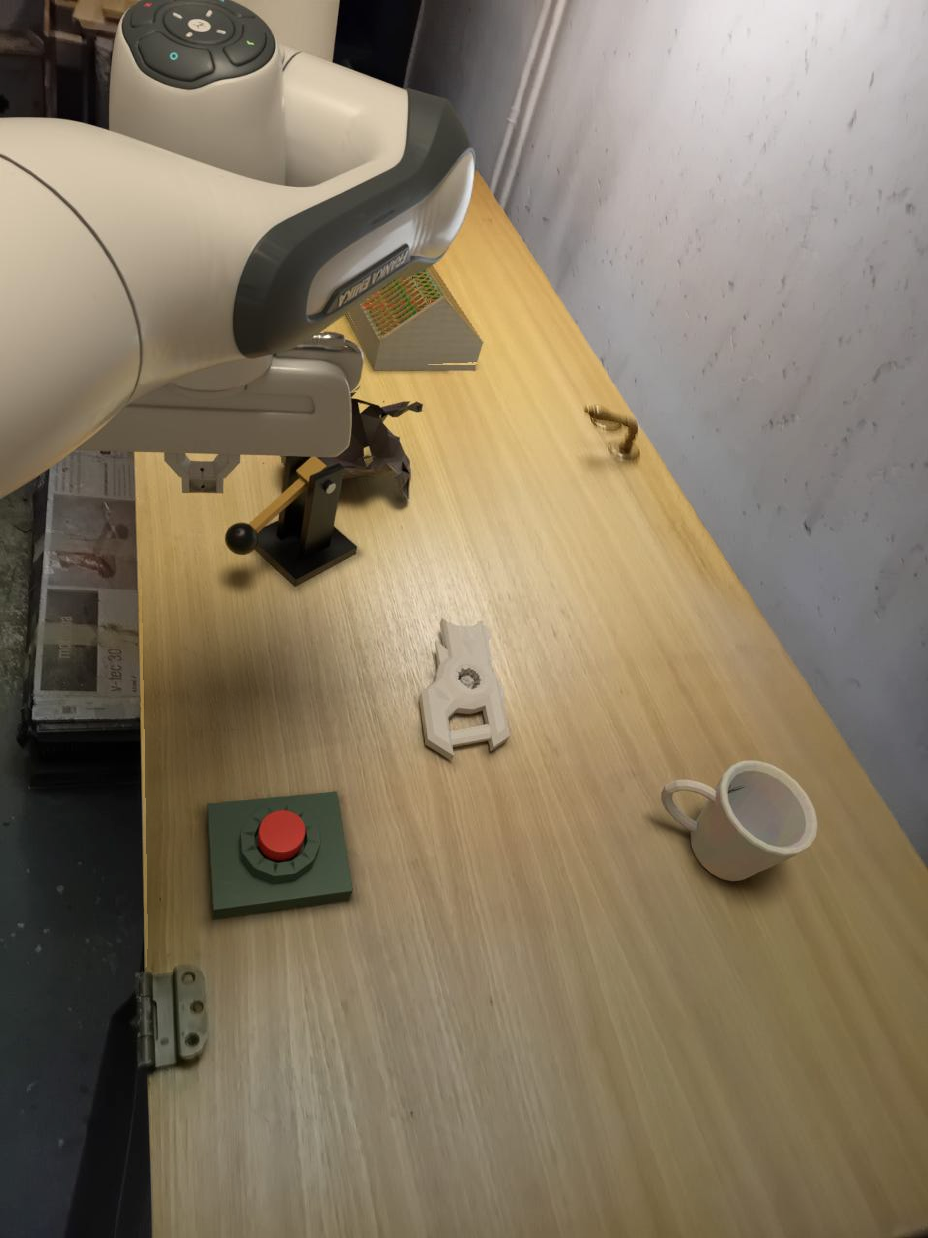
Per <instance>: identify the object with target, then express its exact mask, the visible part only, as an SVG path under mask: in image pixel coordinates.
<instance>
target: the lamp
mask: <svg viewBox="0 0 928 1238" xmlns="http://www.w3.org/2000/svg"><path fill="white" fill-rule="evenodd" d="M231 1H234V2H236V3H238V4H240V5H242V6H244V7H246V8H248V9H249V10H251V11H252V12H254V13H255V14H256V15H258V16H259V17H260V18H261V19H262V20H263V21H264V22H265V23H266V24H267V25H268V26H269V27H270V29H271V30H272V32H273V33H274V35H275V37H276V39H277V42H278V43H280V44H282V45H285V46H287V47H290V48H293V49H295V50H298V51H301V52H305V53H308V54H311V55H313V56H316V57H319V58H322V59H324V60H327V61H330V62H332V63H333V60H334V53H335V43H336V35H337V26H338V18H339V17H338V16H339V9H340V0H231Z"/></svg>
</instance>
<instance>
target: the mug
mask: <svg viewBox="0 0 928 1238" xmlns="http://www.w3.org/2000/svg"><path fill="white" fill-rule="evenodd" d="M682 791H683V792H684V791H685V792H686V791H687V792H692V793H696V794H698V795H700V796H703V797H704V798H706V799H707V801H706V802H705V804H704V806H703V807H702V808H701V811H700V812H699V814H698V816H697V817H696V820H694V819H692V818H691V817H690V816H688V815H687V814H685V813H684V812H683V811H682V810H681V809H679V807H678V806H677V805H676V803H674V800H673V794H675V793H678V792H682ZM660 797H661V803H662V805H663V807H664V809H665V811H666V812H667V813H668V814H669V816H670V817H671V818H672V819H673V820H674V821H675V822H676V823H678V824H680V825H681V826H682V827H684V828H686V829H687V830H689V831H690V844H691V845H690V846H691V849H692V851H693V854H694V856H695V857H696V859H697V860H698V862H699V863H700V865H701V866H702V867H703V868H705V870H707V871H708V872H709V873H710V874H711V875H713V876H715V877H717V878H719V879H720V880H724V881H729V882H738V881H744V880H746V879H748V878H751V877H753V876H754V875H757V874H759V873H761V872H763V871H765V870H767V869H768V870H769V868H772V867H774V866H776V865H778V864H780V863H782V862H785V861H788V860H789V859H791V858H793V857H795V856H798V855H800V854H801V853H803V852H805V851H807V850H808V849H809V848H810V847H811V846H812V844H813V842H814V841H815V839H816V837H817V832H818V825H819V823H818V819H817V813H816V809H815V807H814V805H813V803H812V801H811V799H810V797H809V795H808V794H807V792H805V789H803V787H802V786H801V785H800V784H799V782H798V781H797V780H795V779H794V778H793V777H792V776H791V775H789V774H788V773H787V772H785V771H784V770H782V769H781V768H778V767H777V766H775V765H773V764H771V763H768V762H765V761H760V760H757V759H756V760H755V759H754V760H741V761H739V762H737V763H734V764H732V765H730V766H729V767H728V768H727V769H726V770H725V772H724V773H723V774H722V775H721V777H720V779H719V780H718V782H717V784H716V785H715V787H714V788H713V787H711V786H709V785H707V784H705V783H703V782H700V781H696V780H692V779H675V780H673V781H670V782H668V783H666V784H665V786H664V787H663V789H662V791H661V793H660Z"/></svg>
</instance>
